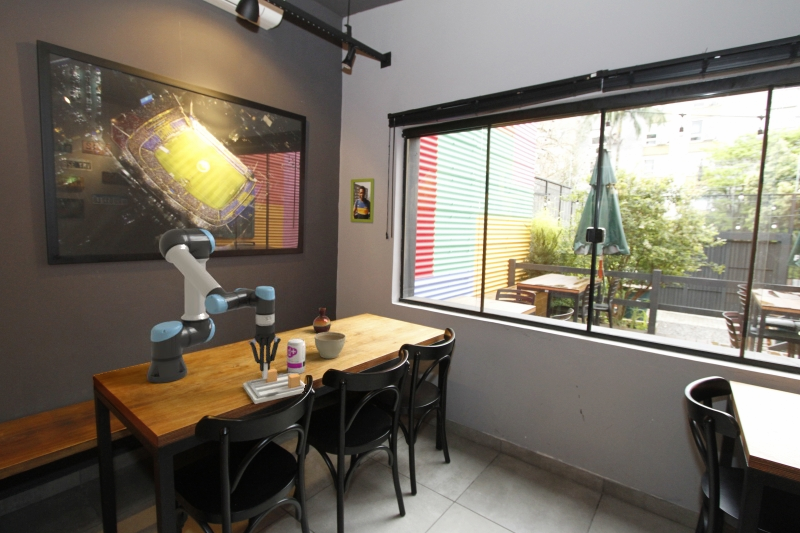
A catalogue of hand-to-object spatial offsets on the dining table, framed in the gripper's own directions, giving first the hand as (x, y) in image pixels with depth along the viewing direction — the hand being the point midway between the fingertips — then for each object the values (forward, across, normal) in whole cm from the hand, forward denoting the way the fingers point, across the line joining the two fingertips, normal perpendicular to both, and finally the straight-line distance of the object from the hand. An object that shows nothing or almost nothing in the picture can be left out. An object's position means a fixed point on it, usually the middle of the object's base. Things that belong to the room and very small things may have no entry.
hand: (264, 377), depth 163 cm
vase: (+4, +55, +65) cm, 85 cm away
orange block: (+2, +3, 0) cm, 4 cm away
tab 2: (+2, +9, -10) cm, 14 cm away
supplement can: (+4, +17, +9) cm, 20 cm away
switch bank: (+4, +3, -5) cm, 7 cm away
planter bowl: (+4, +40, +22) cm, 46 cm away
